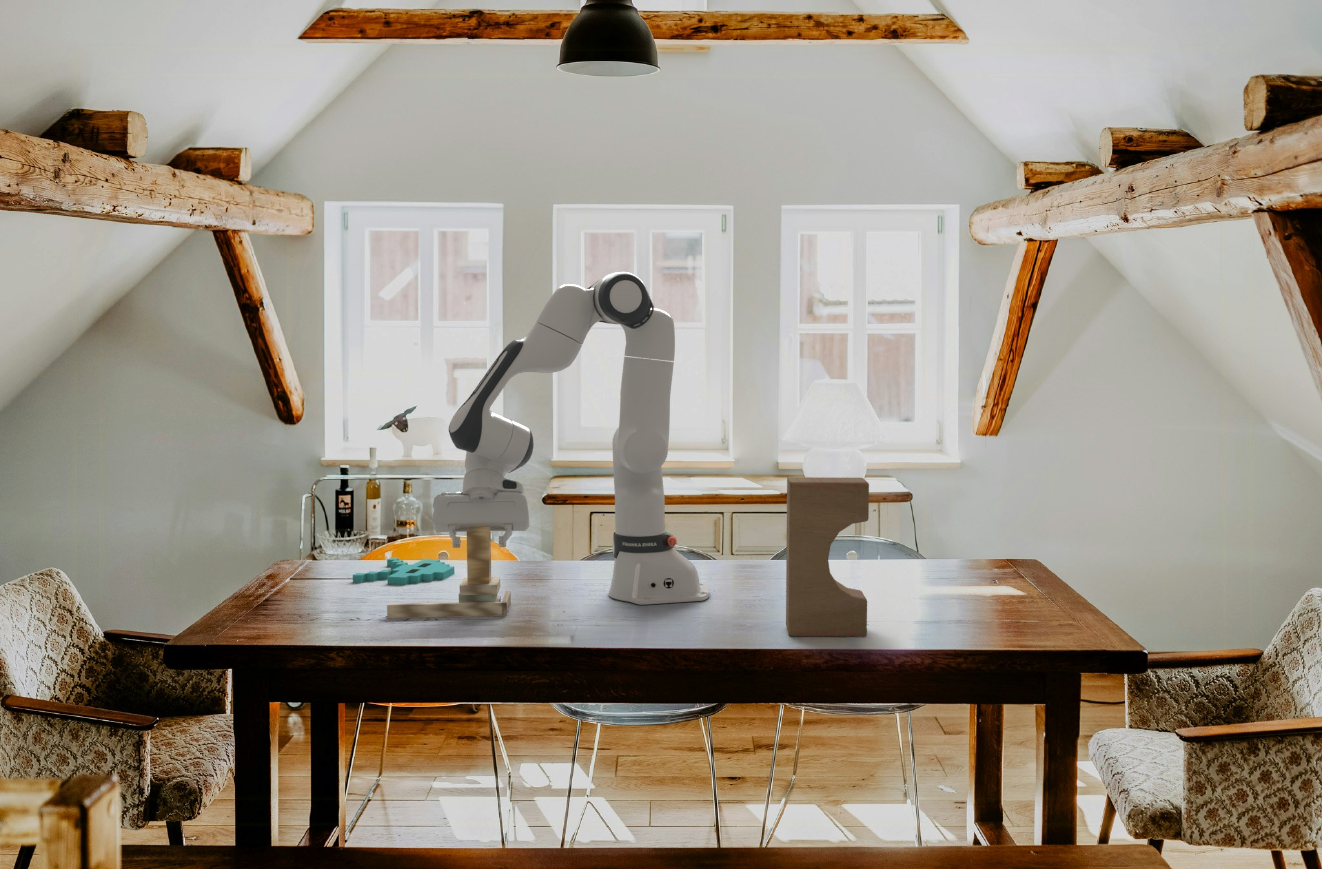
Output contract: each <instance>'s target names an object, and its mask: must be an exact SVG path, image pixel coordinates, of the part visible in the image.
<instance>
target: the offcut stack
mask: <svg viewBox="0 0 1322 869" xmlns="http://www.w3.org/2000/svg"><path fill="white" fill-rule="evenodd" d="M500 588H501V577H500V576H499V577H496V576H495V577H492V576H491V581H490V583H489V584H468V578H467V577H463V578H462V580H461V583H460V584H459V594H458V603H463V602H502V601H501V600H502V598H501V596H502V595H498V594H499V592H500Z"/></svg>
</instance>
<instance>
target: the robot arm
mask: <svg viewBox="0 0 1322 869" xmlns="http://www.w3.org/2000/svg"><path fill="white" fill-rule="evenodd" d="M596 323H605V324H610V325H620V327H622V329H623V331H624V334H625V348H624V353H623V355H624V357H623V364H622V372H621V373H622V374H621V383H620V393H619V394H620V399H619V400H620V401H619V402H620V404H619V405H620V406H619V423H618V427H617V428H616V430H615V432H614V434H613V437H612V442H611V444H612V466H613V468H612V471H613V486H614V523H615V525H614V526H615V528H614V530H615V531H614V532H613V537H612V554H613V558H614V561H613V562H614V563H613V569H612V570H613V572H612V577H611V583H610V587H609V590H608V593H607V594H608V596H609V597H610V598H612V599H613V600H618V601H624V602H628V603H629V602H630V603H632V604H636V605H640V606H641V605H656V604H657V605H658V604H669V603H670V604H672V603H686V602H700V601H701V602H702V601H705V600H707V599H709V597H710V591H709V588H708V586H706V585H705V584H704V583H701V582H700V577H699V573H698V569H697V567H696V565H695V564H694V563H693V562H692V561H691V560H689V559H688V558H686V557H685V556H684V555H683V554H681V553H680V552H678V551H677V550H676V549H675V548H674V547H676V545H677V544H678V541H677V540H678V539H677V538H676V537H675V536H674V535H673V534H671V532H667V531H666V530H665V529H666V528H665V527H666V524H665V518H666V516H665V508H666V507H665V504H666V503H665V490H664V481H663V469H662V466H663V465H664V463H665V462H666V460H667V457H668V455H669V454H668V453H669V441H670V440H669V438H670V422H671V421H670V416H671V415H670V414H671V411H670V410H671V391H672V385H673V384H672V382H673V375H674V374H673V373H674V365H675V362H674V361H675V353H676V334H675V332H676V331H675V322H674V319H673V318H672V316H671V315H670V314H669V313H668V312H666V311H665V310H662V309H660V308H655V306H654V304H653V300H652V298H651V296H650V294H649V291H648V289H647V287H646V285H645V283H644V282H643V281H642V279H641V278H640V277H639V276H637V275H636V274H634V273H631V272H628V271H627V272H626V271H619V272H612V273H609V274H607V275H605V276H603V277H602V278H601V279H599V280H597V281H596V282H594V283H593V284H592V285H590V286H589V287H587V288H584V287H583V286H580V285H578V284H574V283H567V284H562V285H560V286H558V287H557V288H556V290H554V292H553V293H552V295H551V297H550V298H549V299H548V301H547V302H546V304H545V305H544V307H543V309H542V311H541V312H540V314H539V316H538V318H537V320H536V322H535V324H534V325H533V327H532V329H530V331H529V332H528V333H527V334H526V335H525V336H524V337H522V338H520V339H514V340H512V341H511V342H509V343H508V344H507V345H506V347H505V348H504V349H503V350H502V351H501V352H500V353H499V355H498V356H497V358H495V361H494V362H493V363H492V365H490V367H489V369H488V370H487V371H486V373H485V374H484V376H483V377H482V378H481V380H480V382H479V383H478V384H477V386H476V387H475V389H474V390H473V391H472V393H471V394H470V395H469V397H468V398H467V399H466V400H465V401H464V403H463V404H462V405H461V406H460V407H459V408H458V410H457V411H455V414H454V415H453V416H452V418H451V420H450V422H449V424H448V425H449V426H448V434H449V437H450V439H451V441H452V444H453V445H454V446H455V448H456V449H458V450H462V451H465V452H466V454H465V459H464V460H465V461H464V468H465V473H464V477H463V482H462V491H461V492H460V491H455V492H454V491H453V492H448V491H447V492H441V493H439V494H437V495H435V497H434V498H433V501H432V502H433V503H432V507H433V509H434V510H433V513H432V518H431V523H432V524H431V525H432V528H433V530H434V531H435V532H437V533H448V534H449V537H450V539H451V540H452V548H453V549H455V548H456V549H461V548H462V547H461V544H462V541H461V537H460V536H457V533H467V530H468V528H469V527H490V531H491V532H504V533H503V535H501V536H500V535H499V536H498V548H507V541H508V540H509V539H510V538H511V537H512V535H513V532H515V531H516V532H523V531H524V532H525V531H527V530H528V529H529V528H530V513H529V506H528V501H527V497H526V496H525V490H524V486H523V483H522V482H521V481H516V480H512V479H510V478H509V479H508V478H505V475H506V474H510V473H513V472H514V471H516V470H518V469H520V468H522V467H523V466H525V465H526V464H527V463H528V462H529V460H530V459H531V457H532V455H533V451H534V436H533V433H532V431H531V429H530V428H529V427H527V426H525V425H523V424H521V423H519V422H517V421H515V420H513V419H510V418H507V417H504V416H503V415H501V414H499V413H496V412H494V411H491V410H490V409H491V406H493V404H494V403H495V401H496V399H497V398H498V396H499V395H500V394H501V392H502V391H503V389H504V388H505V387H506V385H507V384H508V382H509V381H510V380H511V379H513V377H515V376H516V375H519V374H522V373H541V374H542V373H543V374H552V373H557V372H560V371H561V372H562V371H563V370H565V369H567V368H569V367H570V366H571V365H572V364H573V362H574V361H575V360H576V358H577V357H578V355H579V352H580V350H581V348H582V347H583V344H584V342H585V340H586V338H587V335H588V333H589V332H590V331H591V328H592V327H593V326H594V325H595V324H596Z"/></svg>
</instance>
